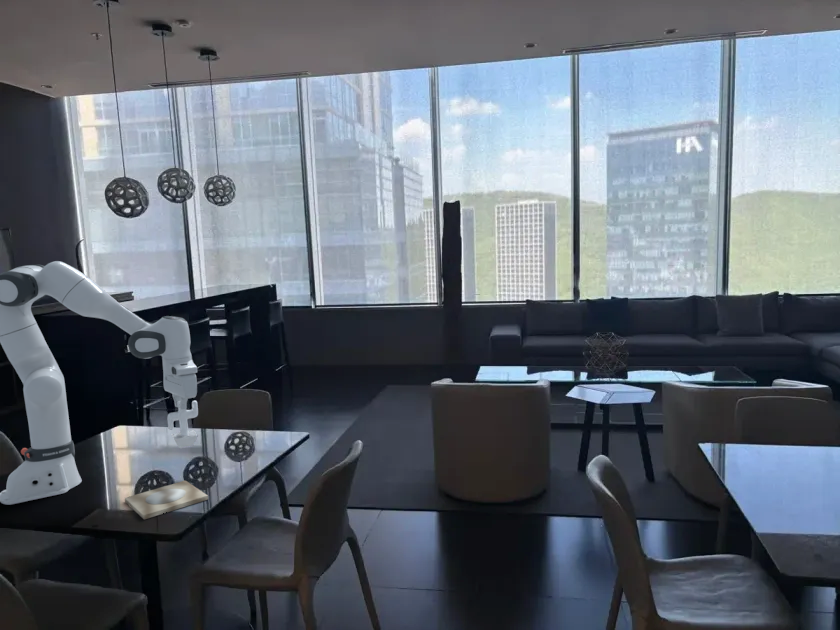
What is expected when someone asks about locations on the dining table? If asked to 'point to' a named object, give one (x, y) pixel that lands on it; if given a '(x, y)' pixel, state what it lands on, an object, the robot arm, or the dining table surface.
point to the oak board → (165, 499)
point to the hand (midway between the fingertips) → (180, 407)
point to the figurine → (183, 425)
